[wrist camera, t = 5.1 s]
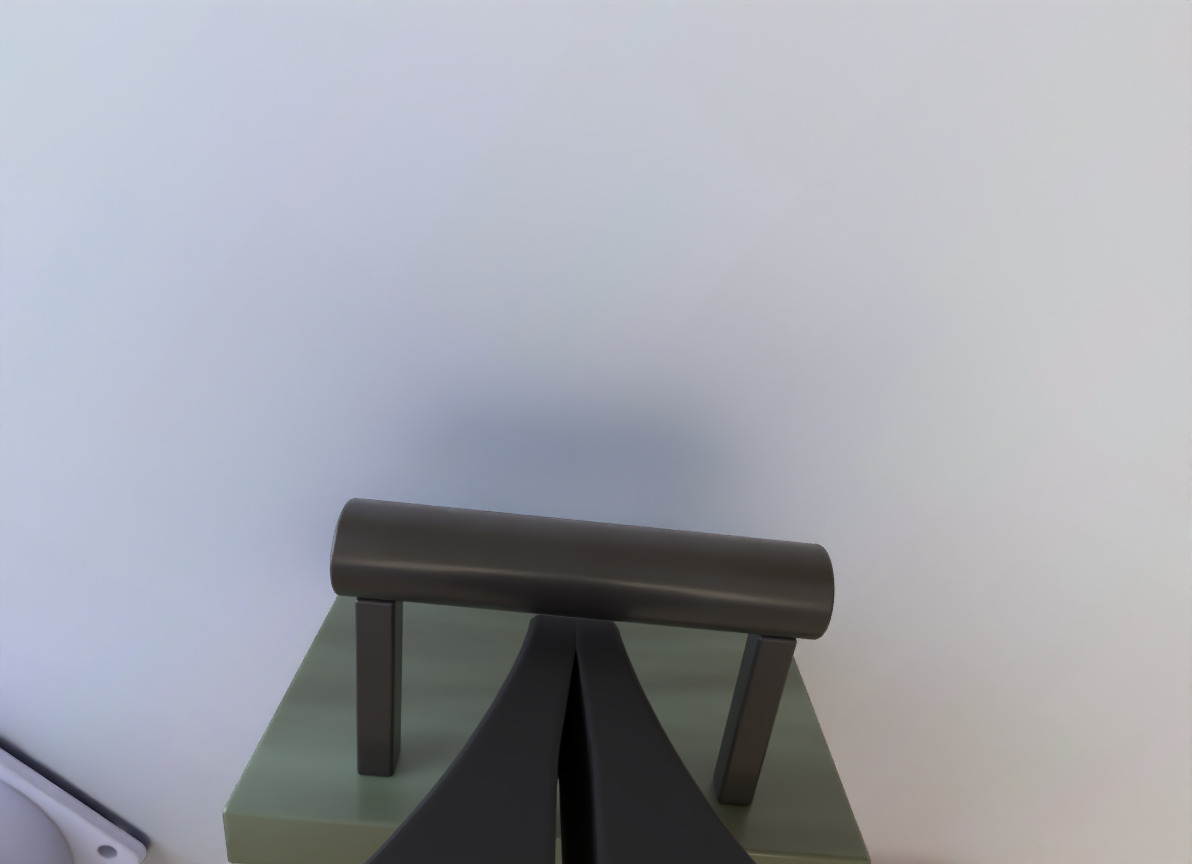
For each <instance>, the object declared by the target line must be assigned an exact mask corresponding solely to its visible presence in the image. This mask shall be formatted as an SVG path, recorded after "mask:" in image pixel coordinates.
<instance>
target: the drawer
mask: <svg viewBox="0 0 1192 864" xmlns="http://www.w3.org/2000/svg"><path fill="white" fill-rule="evenodd" d="M330 576H331V584H332V588H333V590H334V592H335V593H336V594H338V596H337V598H336V600H335V602H334V604H333V606H332V607H331V609H330V611H329V613H328V615H327V617H326V619H325V620H324V622H323V624H322V626H321V628H320V630H319V632H318V634H317V635H316V637H315V639H314V641H313V643H312V645H311V647H310V649H309V650H308V652H307V654H306V656H305V658H304V660H303V662H302V663H301V665H300V667H299V669H298V671H297V673H296V675H295V677H294V678H293V680H292V682H291V684H290V686H289V688H288V690H287V692H286V693H285V695H284V697H283V699H282V701H281V703H280V705H279V706H278V708H277V710H276V712H275V714H274V716H273V718H272V720H271V721H270V723H269V725H268V727H267V729H266V731H265V733H264V735H263V736H262V738H261V740H260V742H259V744H258V746H257V748H256V750H255V751H254V753H253V755H252V757H251V759H250V761H249V763H248V764H247V766H246V768H245V770H244V772H243V774H242V776H241V778H240V779H239V781H238V783H237V785H236V787H235V789H234V791H233V793H232V794H231V796H230V798H229V800H228V802H227V804H226V806H225V807H224V809H223V821H224V830H225V838H226V847H227V856H228V861H229V862H231V863H235V864H363V863H364V862H365V861H366V860H368V859H369V858H370V857H371V856H372V855H373V854H374V853H375V852H376V851H377V850H378V849H379V848H380V847H381V845H382V844H383V843H384V842H385V841H386V840H387V839H388V838H389V837H390V836H391V835H392V834H393V833H394V832H395V831H396V829H397V828H398V827H399V826H400V825H401V824H402V823H403V821H404V820H405V819H406V818H407V817H408V816H409V815H410V813H411V812H412V811H413V810H414V809H415V808H416V807H417V805H418V804H419V803H420V802H421V801H422V800H423V799H424V797H425V796H426V795H427V794H428V793H429V791H430V790H431V789H432V788H433V786H434V785H435V784H436V783H437V781H438V780H439V779H440V778H441V776H442V775H443V774H444V772H445V771H446V770H447V769H448V767H449V766H450V765H451V763H452V762H453V761H454V759H455V758H456V756H457V755H458V754H459V752H460V751H461V750H462V748H463V747H464V745H465V744H466V742H467V741H468V739H469V738H470V736H471V735H472V733H473V732H474V730H475V729H476V727H477V726H478V724H479V723H480V721H481V720H482V718H483V717H484V715H485V714H486V712H487V711H488V709H489V707H490V706H491V704H492V702H493V701H494V699H495V697H496V695H497V694H498V692H499V690H500V688H501V686H502V685H503V683H504V681H505V679H506V677H507V676H508V674H509V672H510V670H511V668H512V666H513V664H514V662H515V660H516V658H517V656H518V654H519V651H520V649H521V647H522V644H523V642H524V639H525V636H526V633H527V630H528V627H529V622H530V619H532V618H533V617H535V616H536V615H538V614H539V615H550V616H561V617H572V618H583V619H594V620H605V621H613V622H614V623H615V624H616V626H617V627H618V628H619V631H620V635H621V638H622V641H623V643H624V646H625V649H626V651H627V654H628V657H629V659H630V661H631V664H632V666H633V668H634V671H635V673H636V675H637V677H638V680H639V682H640V684H641V686H642V688H643V690H644V692H645V695H646V697H647V698H648V700H649V702H650V704H651V706H652V708H653V710H654V712H655V714H656V716H657V718H658V720H659V722H660V724H661V726H662V727H663V729H664V731H665V733H666V734H667V736H668V738H669V740H670V742H671V743H672V745H673V747H674V748H675V750H676V752H677V753H678V755H679V757H680V758H681V760H682V762H683V763H684V765H685V767H686V768H687V770H688V771H689V773H690V774H691V776H692V778H693V779H694V781H695V782H696V784H697V785H698V787H699V788H700V790H701V791H702V793H703V794H704V796H705V797H706V799H707V800H708V801H709V803H710V804H711V806H712V807H713V808H714V810H715V811H716V813H717V814H718V815H719V817H720V818H721V820H722V821H723V822H724V824H725V825H726V826H727V827H728V829H729V830H730V831H731V833H732V834H733V835H734V837H735V838H736V839H737V840H738V842H739V843H740V844H741V846H742V847H743V848H744V850H745V851H746V852H747V853H748V855H749V856H750V857H751V858H752V859H753V860H754V862H755V863H756V864H871V860H870V856H869V854H868V851H867V848H866V846H865V843H864V840H863V838H862V835H861V833H860V830H859V827H858V825H857V822H856V819H855V817H854V814H853V811H852V809H851V806H850V803H849V801H848V798H847V796H846V793H845V790H844V788H843V785H842V782H841V780H840V777H839V774H838V772H837V769H836V767H835V764H834V761H833V759H832V756H831V753H830V751H829V748H828V745H827V743H826V740H825V737H824V735H823V732H822V730H821V727H820V724H819V722H818V719H817V716H816V714H815V711H814V708H813V706H812V703H811V700H810V698H809V695H808V693H807V690H806V687H805V685H804V682H803V679H802V677H801V674H800V671H799V669H798V666H797V664H796V661H795V658H794V656H793V654H794V651H795V647H796V643H797V640H796V638H801V639H811V640H815V639H818V638H820V637H821V636H823V634H824V633H825V632H826V630H827V628H828V625H829V623H830V620H831V616H832V611H833V604H834V574H833V568H832V563H831V560H830V557H829V555H828V553H827V551H826V550H825V549H824V547H822V546H820V545H818V544H811V543H801V542H791V541H781V540H771V539H761V538H751V537H741V536H731V535H721V534H711V533H701V532H691V531H681V530H670V529H660V528H650V527H640V526H630V525H620V524H610V523H600V522H590V521H580V520H570V519H560V518H550V517H540V516H530V515H520V514H510V513H500V512H490V511H480V510H470V509H460V508H450V507H440V506H430V505H420V504H410V503H400V502H390V501H380V500H370V499H360V498H353V499H350V500H349V501H348V502H347V503H346V504H345V506H344V508H343V510H342V512H341V514H340V517H339V519H338V522H337V525H336V529H335V533H334V537H333V543H332V549H331V559H330ZM555 864H562V855H561V828H560V801H559V778H558V784H557V807H556V850H555Z"/></svg>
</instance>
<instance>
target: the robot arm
mask: <svg viewBox="0 0 1192 864" xmlns="http://www.w3.org/2000/svg"><path fill="white" fill-rule="evenodd" d="M558 778H559V801H560V828H561V855H562V864H756V863H755V862H754V860H753V859H752V858H751V857H750V856H749V855H748V853H747V852H746V851H745V850H744V848H743V847H742V846H741V844H740V843H739V842H738V840H737V839H736V838H735V837H734V835H733V834H732V833H731V831H730V830H729V829H728V827H727V826H726V825H725V824H724V822H723V821H722V820H721V818H720V817H719V815H718V814H717V813H716V811H715V810H714V808H713V807H712V806H711V804H710V803H709V801H708V800H707V799H706V797H705V796H704V794H703V793H702V791H701V790H700V788H699V787H698V785H697V784H696V782H695V781H694V779H693V778H692V776H691V774H690V773H689V771H688V770H687V768H686V767H685V765H684V763H683V762H682V760H681V758H680V757H679V755H678V753H677V752H676V750H675V748H674V747H673V745H672V743H671V742H670V740H669V738H668V736H667V734H666V733H665V731H664V729H663V727H662V726H661V724H660V722H659V720H658V718H657V716H656V714H655V712H654V710H653V708H652V706H651V704H650V702H649V700H648V698H647V697H646V695H645V692H644V690H643V688H642V686H641V684H640V682H639V680H638V677H637V675H636V673H635V671H634V668H633V666H632V664H631V661H630V659H629V657H628V654H627V651H626V649H625V646H624V643H623V641H622V638H621V635H620V631H619V628H618V627H617V626H616V624H615V623H614V622H613V621H605V620H594V619H583V618H572V617H561V616H550V615H539V614H538V615H536V616H535V617H533V618H532V619H530V622H529V627H528V630H527V633H526V636H525V639H524V642H523V644H522V647H521V649H520V651H519V654H518V656H517V658H516V660H515V662H514V664H513V666H512V668H511V670H510V672H509V674H508V676H507V677H506V679H505V681H504V683H503V685H502V686H501V688H500V690H499V692H498V694H497V695H496V697H495V699H494V701H493V702H492V704H491V706H490V707H489V709H488V711H487V712H486V714H485V715H484V717H483V718H482V720H481V721H480V723H479V724H478V726H477V727H476V729H475V730H474V732H473V733H472V735H471V736H470V738H469V739H468V741H467V742H466V744H465V745H464V747H463V748H462V750H461V751H460V752H459V754H458V755H457V756H456V758H455V759H454V761H453V762H452V763H451V765H450V766H449V767H448V769H447V770H446V771H445V772H444V774H443V775H442V776H441V778H440V779H439V780H438V781H437V783H436V784H435V785H434V786H433V788H432V789H431V790H430V791H429V793H428V794H427V795H426V796H425V797H424V799H423V800H422V801H421V802H420V803H419V804H418V805H417V807H416V808H415V809H414V810H413V811H412V812H411V813H410V815H409V816H408V817H407V818H406V819H405V820H404V821H403V823H402V824H401V825H400V826H399V827H398V828H397V829H396V831H395V832H394V833H393V834H392V835H391V836H390V837H389V838H388V839H387V840H386V841H385V842H384V843H383V844H382V845H381V847H380V848H379V849H378V850H377V851H376V852H375V853H374V854H373V855H372V856H371V857H370V858H369V859H368V860H366V861H365V862H364V863H363V864H555V850H556V807H557V784H558ZM146 854H147V851H146V848H145V846H144V845H143V844H142V843H141V842H140V841H138V840H137V839H135V838H134V837H132V836H131V835H129V834H128V833H126V832H125V831H123V830H122V829H120V828H119V827H117V826H116V825H114V824H113V823H111V822H110V821H108V820H107V819H106V818H104V817H103V816H101V815H100V814H98V813H97V812H95V811H94V810H92V809H91V808H89V807H88V806H86V805H85V804H83V803H82V802H80V801H79V800H77V799H76V798H74V797H73V796H71V795H70V794H68V793H67V792H65V791H64V790H62V789H61V788H59V787H58V786H56V785H55V784H53V783H52V782H50V781H49V780H47V779H46V778H44V777H43V776H41V775H40V774H38V773H37V772H35V771H34V770H32V769H31V768H29V767H28V766H27V765H25V764H24V763H22V762H21V761H19V760H18V759H16V758H15V757H13V756H12V755H10V754H9V753H7V752H6V751H4V750H3V749H1V748H0V864H142V862H143V860H144V859H145V857H146Z"/></svg>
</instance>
